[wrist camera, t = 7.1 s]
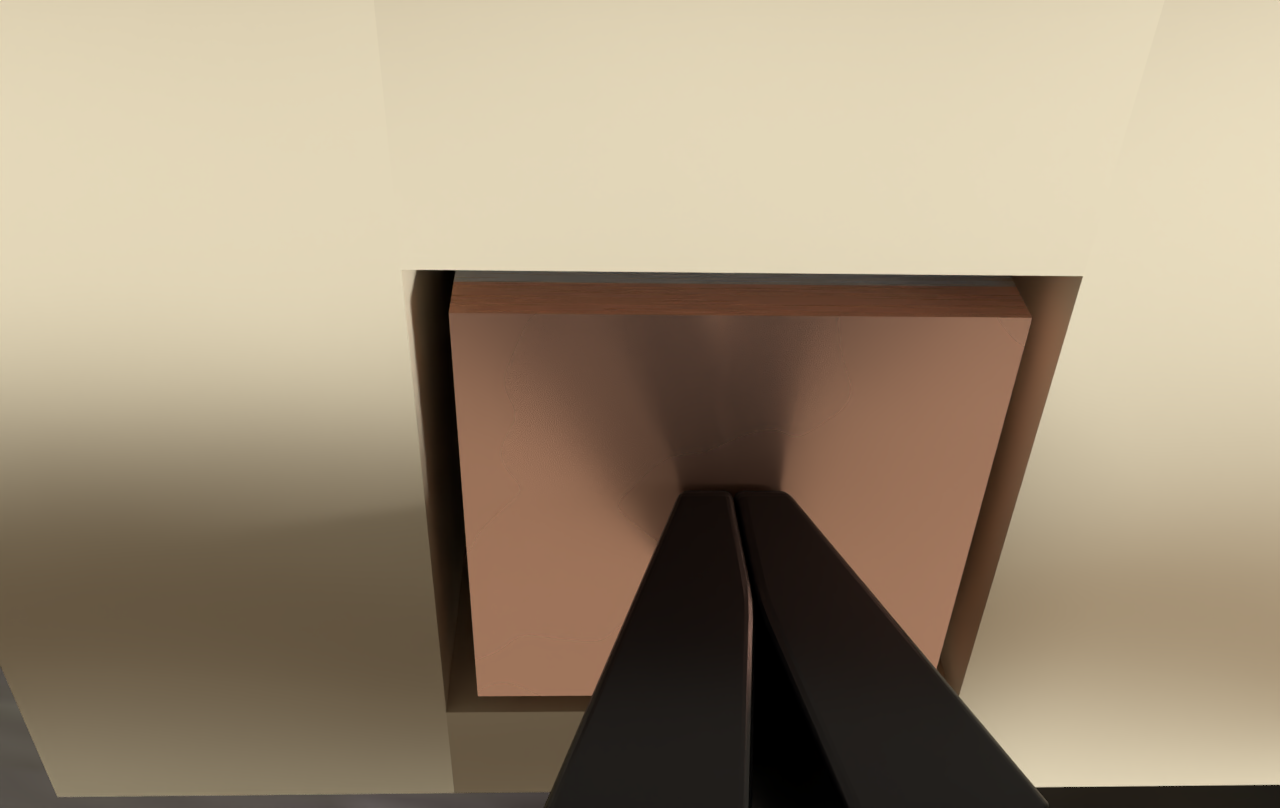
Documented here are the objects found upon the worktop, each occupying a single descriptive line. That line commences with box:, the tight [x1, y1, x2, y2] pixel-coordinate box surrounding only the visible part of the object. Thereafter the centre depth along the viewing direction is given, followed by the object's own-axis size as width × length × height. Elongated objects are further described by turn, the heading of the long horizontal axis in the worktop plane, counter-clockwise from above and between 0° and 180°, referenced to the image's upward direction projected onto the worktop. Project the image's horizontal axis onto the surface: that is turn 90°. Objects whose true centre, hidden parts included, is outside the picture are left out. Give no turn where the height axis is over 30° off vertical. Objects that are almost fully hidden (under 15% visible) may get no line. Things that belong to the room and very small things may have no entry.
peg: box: [449, 270, 1032, 696], centre depth 12 cm, size 4×4×6 cm
